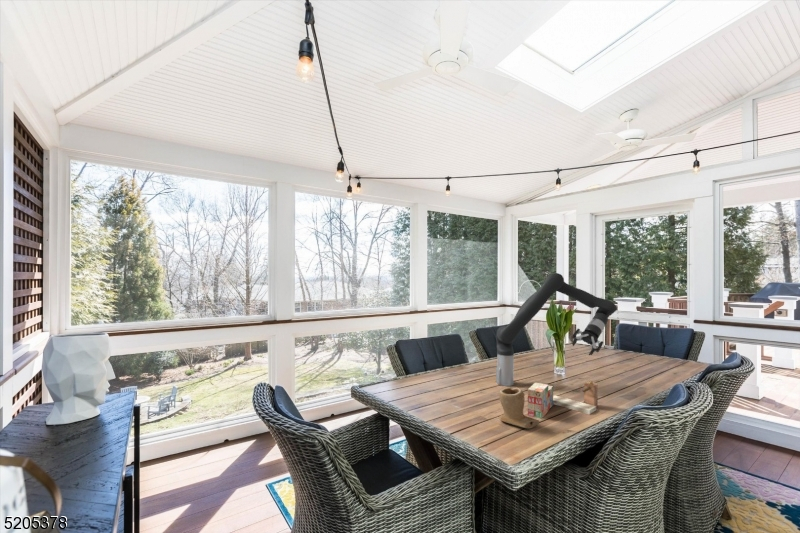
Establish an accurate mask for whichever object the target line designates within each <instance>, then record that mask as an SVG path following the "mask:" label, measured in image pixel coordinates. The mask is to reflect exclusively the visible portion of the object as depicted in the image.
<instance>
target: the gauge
mask: <svg viewBox="0 0 800 533" xmlns="http://www.w3.org/2000/svg"><path fill="white" fill-rule="evenodd" d="M583 386H584V387H583V389H582V392H583V396H584V397H583V401H584V402H583V403H586V404H590V405H593V406H596V408H598V401H599V400H598V399H599V398H598V395H599V394H598V389H599V388H598V383H595V382H593V381H587V382H585V383H583Z"/></svg>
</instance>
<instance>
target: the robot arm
mask: <svg viewBox="0 0 800 533" xmlns="http://www.w3.org/2000/svg"><path fill="white" fill-rule="evenodd" d="M555 292H559V293H561V294H563V295H566V296H568V297H569V298H572V299H573V300H575V301H577V302H579V303H581V304H582V305H585V306H586V307H588V308H590V309H595V308H597V309H596V311H595V314H594V316H593V317H592V319H591V320H590V321H589V322H588V324H587V325H586V327H585V329H584V330H583V331H582V330H581V329H580V328H576V330H575V331H574V333H573V334H572V336H571V338H572V339H573V341H572V343H571V344H572V346H573V347H574V346H575V345H576V344H577V341H579V342H581V341H582V342H584V343H586V344H588V345H590V348H591V350H590V351H589V353H588V356H593V355H594V352H597V353H599V352H600V350H601V349H602V347H603V344H604V341H600V340H599V337H601V334H602V333H603V331H604V329H605V328H606V325H607V323H608V321H609V318H610V317H611V315H613V314H614V313H615V312H616V311H617V305H616V304H615V303H614V302H613V301H611V300H608V299H605V298H602V297H597V296H595V295H593V294H592V293H591V292H587V291H585V290H584V289H581V288H578V287H575V286H573V285H570V284H568V283H567V282H565V279H564V276H563V275H562V274H561V273H558V272H553V273H550V274H549V275H547V276H546V277H545V279H544V283H543V284H542V285H541V287H539V289H537V290H536V291H535V292H534V293H532V295H530V296H528V298H527V299H526V300H525V301H524V302H523V303H522V304H521V306H520V307H519V309H518V310H517V311H516V314H515V316H514V317H513V319H512V320H511V321H510V322H509V324H508V325H507V326H506V325H502V326H500V327H498V329H497V330H496V335H495V336H496V338H495V339H496V351H497V352H496V355H497V357H496V359H497V360H496V363H497V364H496V366H495V382H496V383H497V385H499V386H506V387H510V386H514V381H515V380H514V379H515V378H514V372H515V371H514V370H515V368H514V367H515V366H514V363H515V362H514V361H515V360H514V359H515V358H514V355H515V353H514V352H515V351H514V348H513V342H514V341H515V339H517V337H518V335H519V334H520V333H521V331H522V330H523V329H524V328H525V327H526V325H528V324H529V322H530V321H531V320H533V318H534V317H535V316H536V315H537V314H538V313H540V311H541V309H542V308H543V307H544V305H545V304H546V303H547V301H548V300H549V299H550V298H551V296H553V295H554V293H555ZM577 335H578V336H577ZM596 344H597V347H596Z"/></svg>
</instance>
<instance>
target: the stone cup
mask: <svg viewBox="0 0 800 533" xmlns="http://www.w3.org/2000/svg"><path fill="white" fill-rule="evenodd" d="M498 398H499V402H500V405H501V407H502V409H503V414H501V415H499V420H500V421H502V422H504V423H506V424H509V425H513V426H516V427H520V428H524V429H532V428H535V427H536V426H538V425H539V423H540V421H539V419H535V418H533V417H531V416H528V415H525V413H524V407H525V394H524V391H523V390H522V389H521V388H519V387H510V386H507V387H505V388H501V389H500V390H499V393H498Z"/></svg>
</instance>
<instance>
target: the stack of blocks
mask: <svg viewBox="0 0 800 533" xmlns="http://www.w3.org/2000/svg"><path fill="white" fill-rule="evenodd" d="M553 396H554V386H553V385H549V384H545V383H541V382H534V383H533V384H532V385H531V386H529V387H528V388H527V416H528V417H532V418H533V417H534V418H539V419H543V417H545V416H546V414H547V413H548V412H549V410H550V409H551V408H552V407H553V406H554V404H553Z"/></svg>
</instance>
